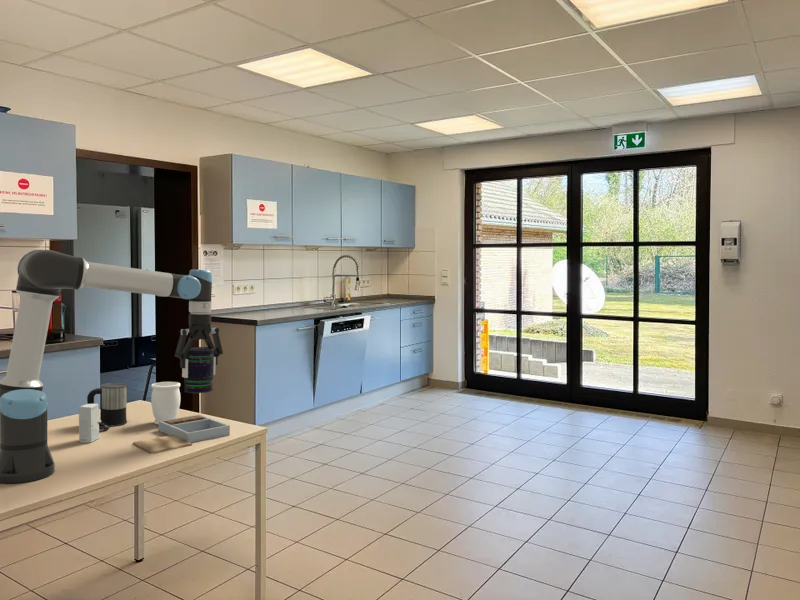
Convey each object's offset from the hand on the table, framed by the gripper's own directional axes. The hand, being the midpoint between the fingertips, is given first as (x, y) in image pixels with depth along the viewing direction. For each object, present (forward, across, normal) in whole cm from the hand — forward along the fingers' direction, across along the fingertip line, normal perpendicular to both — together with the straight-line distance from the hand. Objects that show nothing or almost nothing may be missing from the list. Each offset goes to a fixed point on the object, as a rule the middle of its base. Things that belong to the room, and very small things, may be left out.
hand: (198, 375), depth 221 cm
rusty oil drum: (+5, 0, 0) cm, 5 cm away
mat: (+21, -14, -3) cm, 26 cm away
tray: (+21, 0, +4) cm, 22 cm away
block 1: (+21, -4, +10) cm, 24 cm away
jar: (+22, 0, +24) cm, 32 cm away
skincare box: (+22, -30, +18) cm, 42 cm away
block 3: (+21, +5, +10) cm, 24 cm away
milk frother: (+22, -19, +33) cm, 43 cm away
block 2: (+21, +1, +10) cm, 24 cm away
